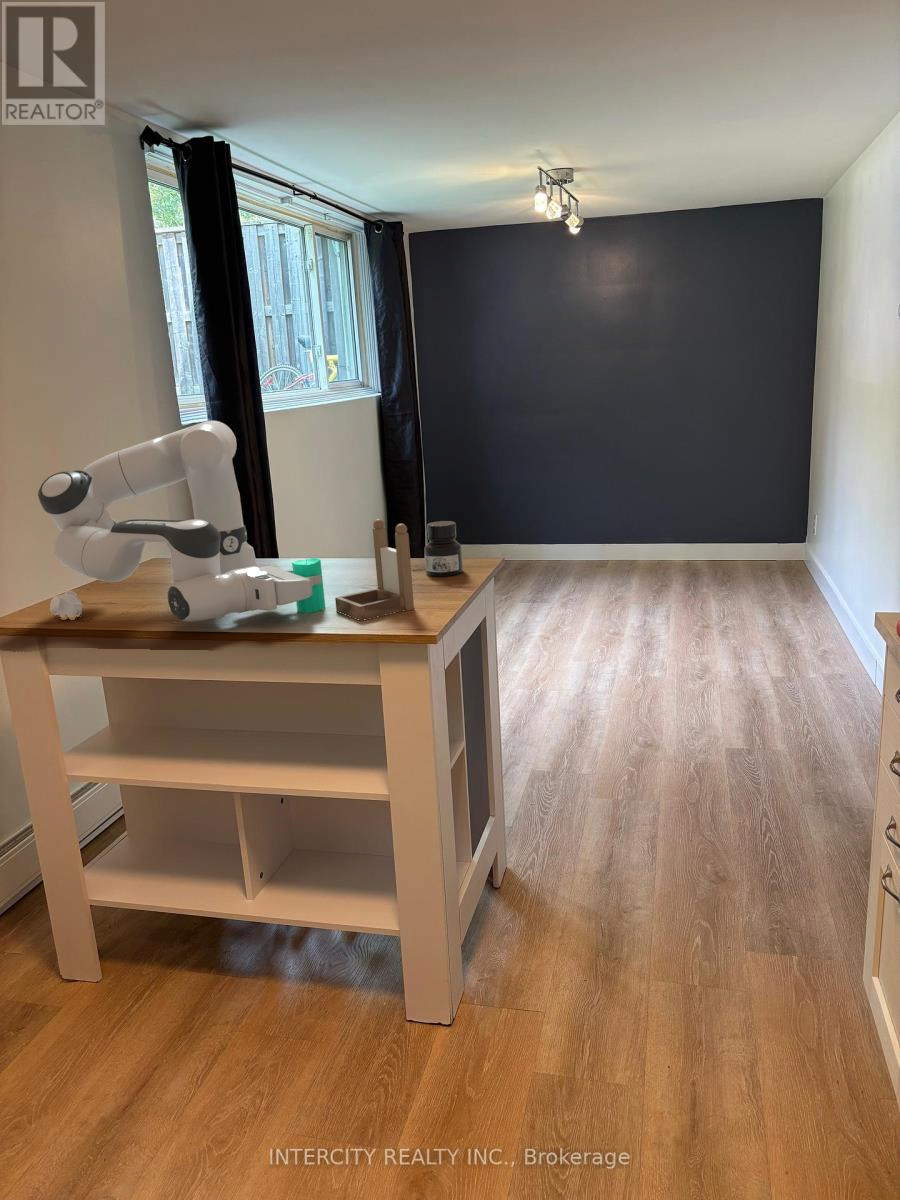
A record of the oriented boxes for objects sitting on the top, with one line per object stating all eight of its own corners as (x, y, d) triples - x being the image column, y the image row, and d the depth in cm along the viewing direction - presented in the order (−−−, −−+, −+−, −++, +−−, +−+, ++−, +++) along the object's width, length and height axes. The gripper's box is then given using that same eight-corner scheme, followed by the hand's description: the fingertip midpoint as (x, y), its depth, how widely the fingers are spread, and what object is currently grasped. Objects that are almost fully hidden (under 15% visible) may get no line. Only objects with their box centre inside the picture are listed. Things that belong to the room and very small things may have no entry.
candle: (329, 604, 203) (323, 550, 200) (319, 612, 197) (313, 556, 194) (303, 605, 204) (297, 551, 201) (293, 612, 198) (286, 557, 195)
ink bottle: (419, 577, 222) (415, 527, 219) (431, 568, 231) (427, 520, 227) (458, 577, 219) (455, 527, 216) (469, 568, 228) (466, 520, 224)
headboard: (377, 601, 203) (370, 519, 198) (387, 599, 204) (380, 517, 200) (405, 611, 194) (398, 525, 189) (415, 608, 195) (408, 523, 190)
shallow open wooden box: (336, 611, 197) (335, 597, 196) (379, 601, 203) (378, 588, 202) (361, 621, 189) (359, 606, 188) (405, 610, 194) (404, 596, 193)
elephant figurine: (62, 615, 209) (57, 589, 208) (94, 614, 208) (89, 588, 206) (43, 623, 203) (38, 597, 202) (75, 623, 201) (71, 596, 200)
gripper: (233, 594, 201) (292, 582, 208) (273, 612, 185) (335, 598, 192) (229, 566, 199) (289, 554, 207) (269, 581, 183) (332, 568, 190)
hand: (311, 575), depth 199 cm, fingers open, 6 cm apart
